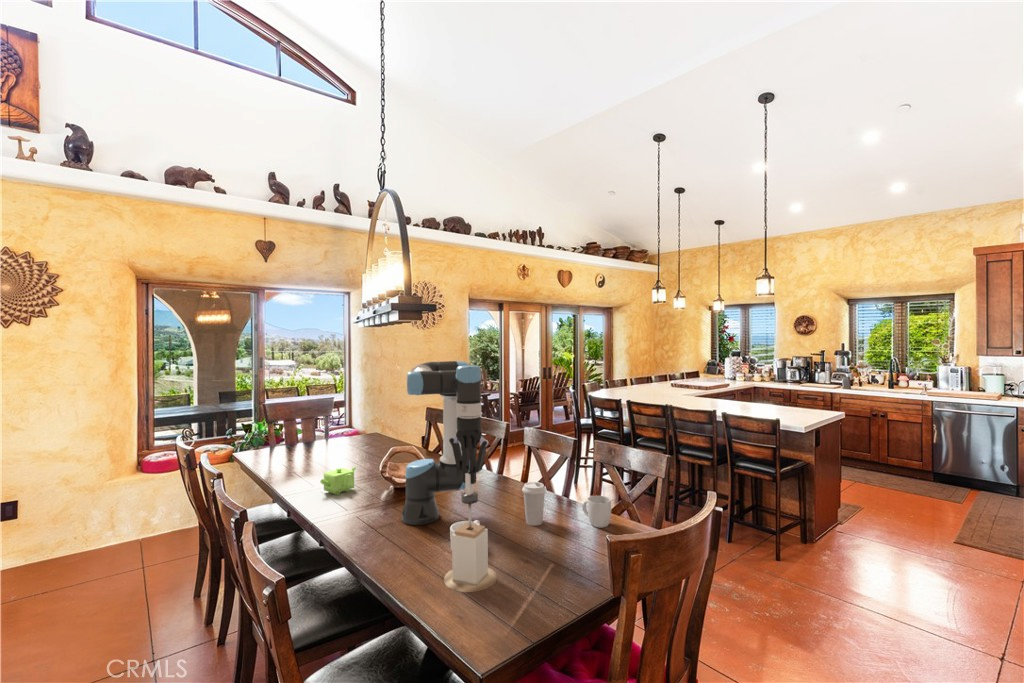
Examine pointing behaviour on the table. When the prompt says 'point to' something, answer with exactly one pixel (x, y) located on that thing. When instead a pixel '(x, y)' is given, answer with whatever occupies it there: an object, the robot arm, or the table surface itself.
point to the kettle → (338, 480)
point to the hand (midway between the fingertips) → (469, 493)
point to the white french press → (470, 554)
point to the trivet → (461, 587)
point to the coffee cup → (534, 502)
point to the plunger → (469, 505)
